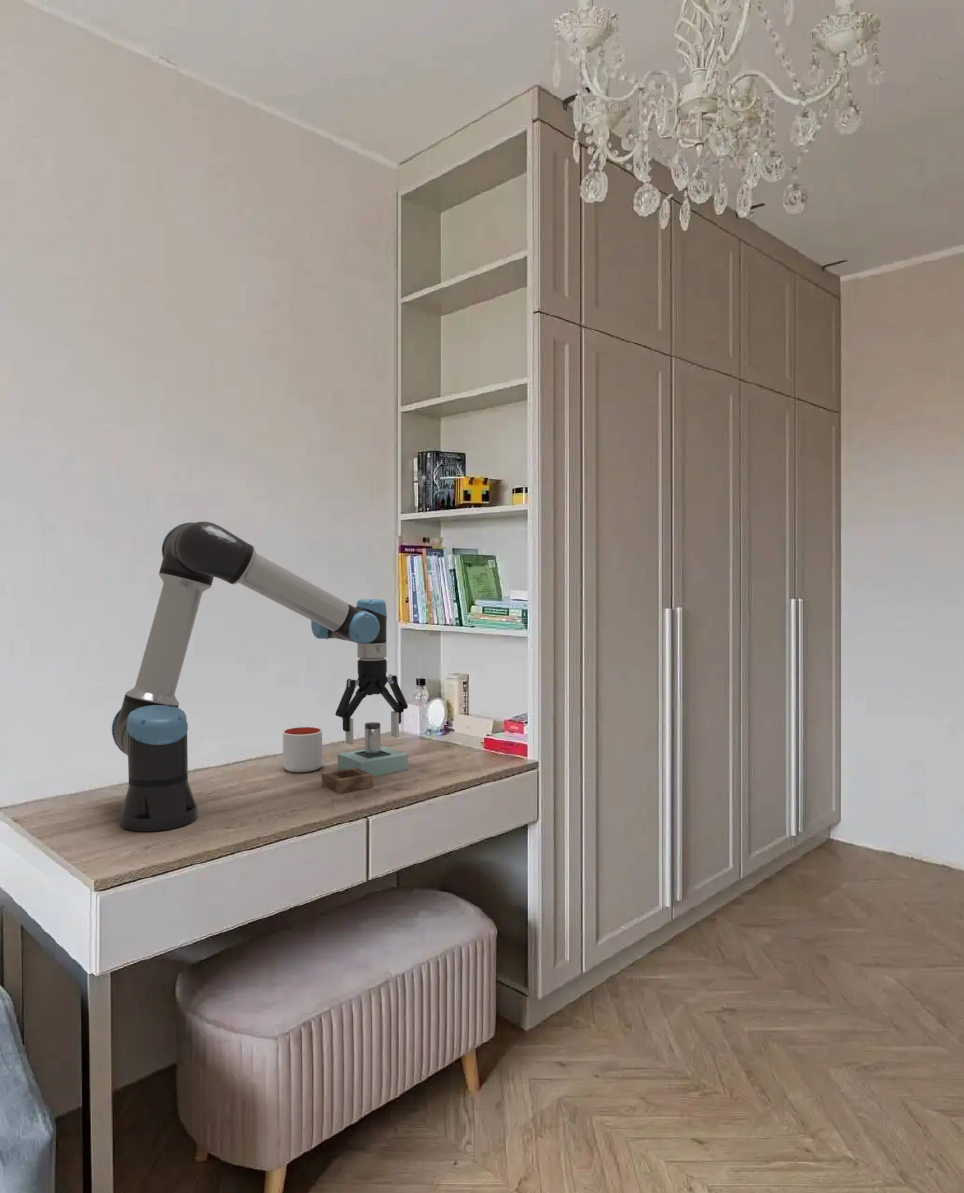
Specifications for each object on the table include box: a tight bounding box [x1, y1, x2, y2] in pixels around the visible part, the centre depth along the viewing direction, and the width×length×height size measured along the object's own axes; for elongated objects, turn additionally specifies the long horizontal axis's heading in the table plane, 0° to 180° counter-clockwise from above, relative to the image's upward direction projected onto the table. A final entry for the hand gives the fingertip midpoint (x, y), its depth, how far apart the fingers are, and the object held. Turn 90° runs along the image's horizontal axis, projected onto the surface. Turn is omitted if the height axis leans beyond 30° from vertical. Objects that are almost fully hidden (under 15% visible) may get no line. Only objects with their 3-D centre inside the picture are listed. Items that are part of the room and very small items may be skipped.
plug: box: [364, 721, 381, 757], centre depth 218 cm, size 4×4×12 cm
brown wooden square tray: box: [321, 767, 374, 794], centre depth 203 cm, size 9×9×3 cm
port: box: [337, 746, 409, 777], centre depth 219 cm, size 14×12×4 cm
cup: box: [282, 726, 323, 773], centre depth 219 cm, size 10×10×10 cm
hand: (372, 740), depth 218 cm, fingers open, 13 cm apart
